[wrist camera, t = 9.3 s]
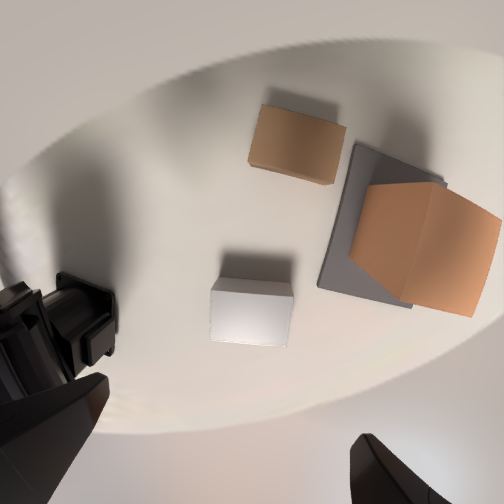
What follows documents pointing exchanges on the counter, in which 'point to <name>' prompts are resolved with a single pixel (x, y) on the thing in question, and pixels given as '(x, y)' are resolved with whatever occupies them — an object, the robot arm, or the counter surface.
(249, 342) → the grey plastic block
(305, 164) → the walnut block
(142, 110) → the counter surface
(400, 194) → the terracotta block
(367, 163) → the charcoal mat
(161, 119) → the counter surface
